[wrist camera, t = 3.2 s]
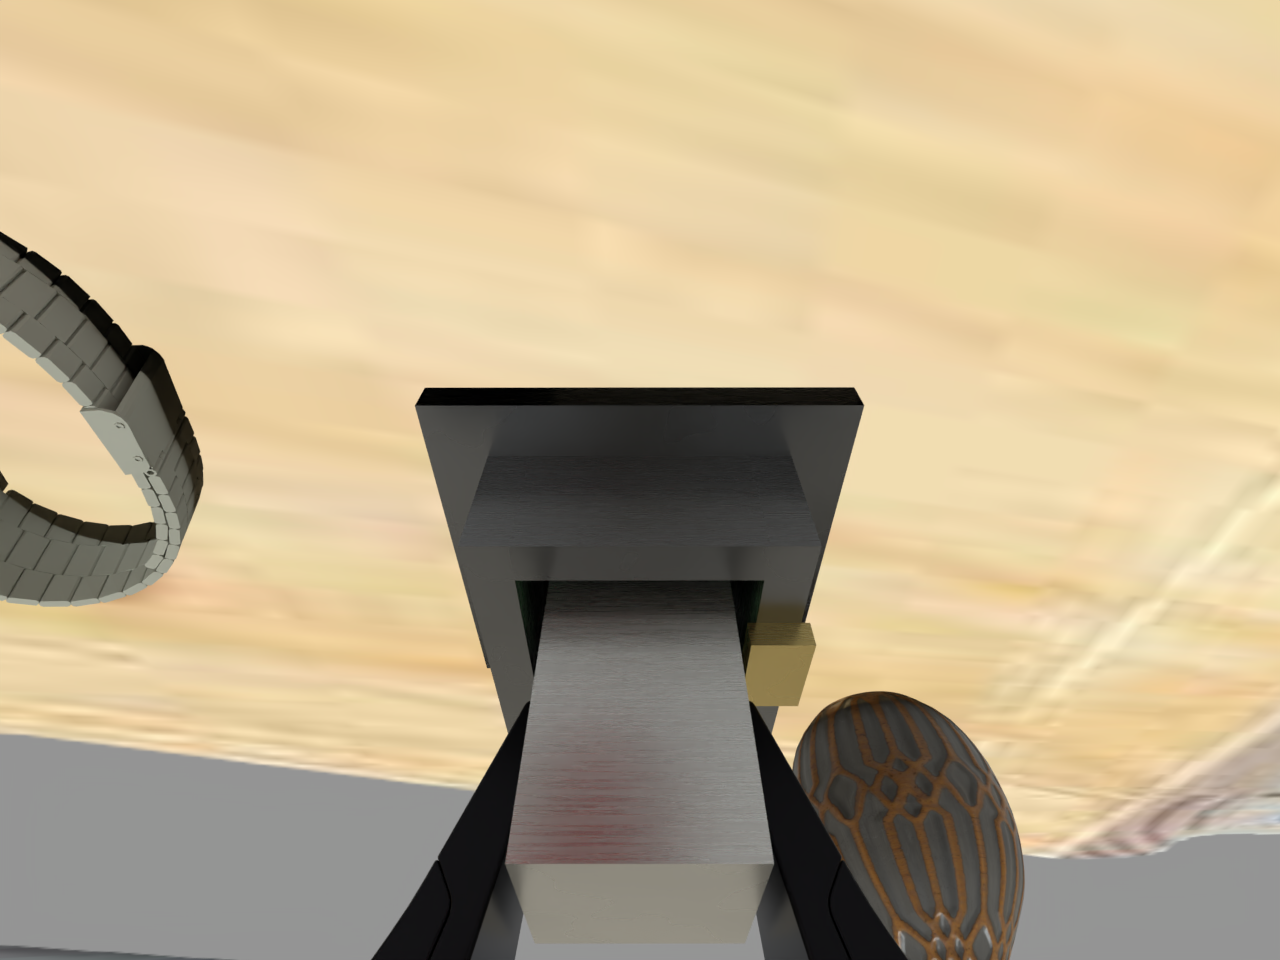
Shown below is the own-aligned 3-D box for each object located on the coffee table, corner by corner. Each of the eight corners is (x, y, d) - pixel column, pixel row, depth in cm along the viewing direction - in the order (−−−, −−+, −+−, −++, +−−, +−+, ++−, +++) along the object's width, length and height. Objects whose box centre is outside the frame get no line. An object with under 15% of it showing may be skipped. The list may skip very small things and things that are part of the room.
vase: (999, 683, 22) (1167, 999, 15) (898, 771, 26) (992, 1049, 19) (825, 652, 20) (919, 981, 14) (748, 749, 25) (791, 1038, 18)
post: (725, 503, 15) (785, 860, 9) (712, 613, 18) (752, 946, 11) (554, 503, 15) (493, 860, 9) (567, 613, 18) (528, 945, 11)
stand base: (854, 387, 14) (924, 513, 10) (787, 647, 20) (818, 780, 17) (424, 387, 14) (354, 514, 10) (491, 647, 20) (461, 780, 17)
